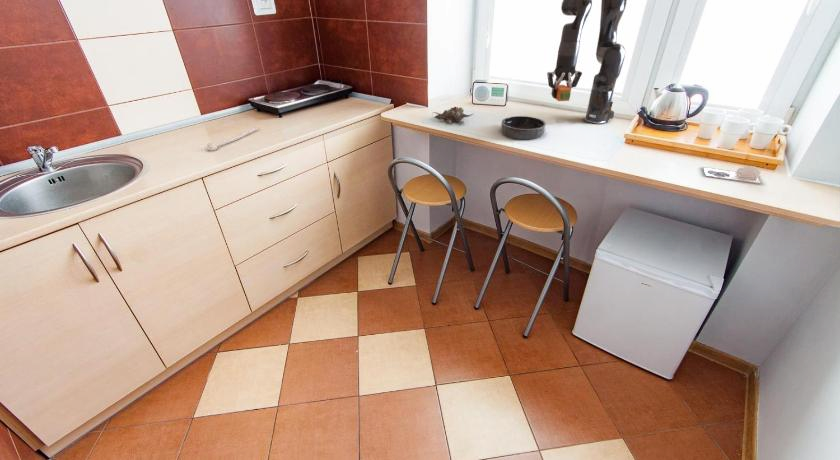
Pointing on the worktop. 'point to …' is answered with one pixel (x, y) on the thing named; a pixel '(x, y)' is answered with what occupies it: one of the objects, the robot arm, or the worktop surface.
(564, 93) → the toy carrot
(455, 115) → the figurine
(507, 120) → the pan
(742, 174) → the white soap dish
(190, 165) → the worktop surface
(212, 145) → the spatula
